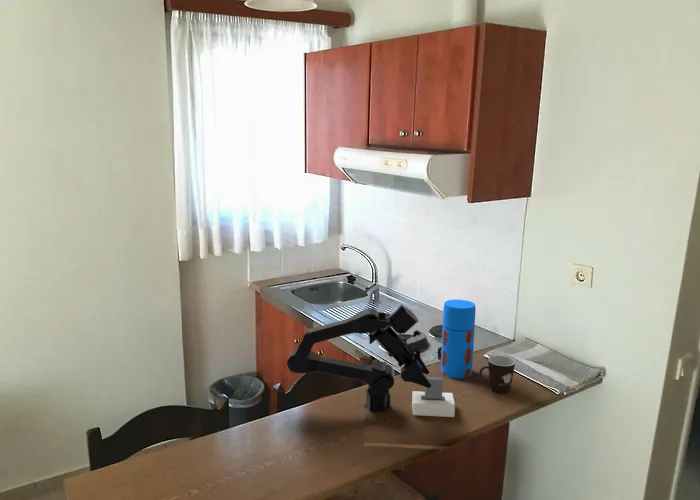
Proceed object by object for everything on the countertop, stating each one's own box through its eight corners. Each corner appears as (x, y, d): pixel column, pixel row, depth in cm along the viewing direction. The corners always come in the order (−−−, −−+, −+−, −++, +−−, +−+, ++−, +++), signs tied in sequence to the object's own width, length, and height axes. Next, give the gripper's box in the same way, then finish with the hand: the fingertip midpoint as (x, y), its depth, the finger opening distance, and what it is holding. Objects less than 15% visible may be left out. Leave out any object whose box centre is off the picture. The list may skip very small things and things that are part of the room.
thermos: (434, 369, 200) (437, 301, 195) (459, 364, 204) (463, 298, 199) (452, 380, 190) (456, 310, 185) (478, 375, 195) (482, 306, 190)
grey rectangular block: (424, 410, 168) (425, 379, 166) (424, 407, 170) (425, 376, 168) (441, 411, 167) (442, 380, 165) (440, 408, 169) (442, 377, 167)
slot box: (412, 417, 165) (413, 403, 164) (412, 404, 173) (412, 391, 172) (454, 419, 164) (454, 405, 163) (451, 406, 172) (452, 392, 171)
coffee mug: (510, 384, 188) (512, 356, 186) (515, 396, 180) (517, 366, 178) (475, 382, 189) (477, 354, 187) (478, 394, 181) (480, 364, 179)
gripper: (414, 336, 155) (452, 376, 156) (412, 315, 173) (446, 351, 174) (384, 362, 157) (423, 401, 158) (385, 338, 175) (420, 373, 176)
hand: (429, 380), depth 167 cm, fingers open, 9 cm apart
